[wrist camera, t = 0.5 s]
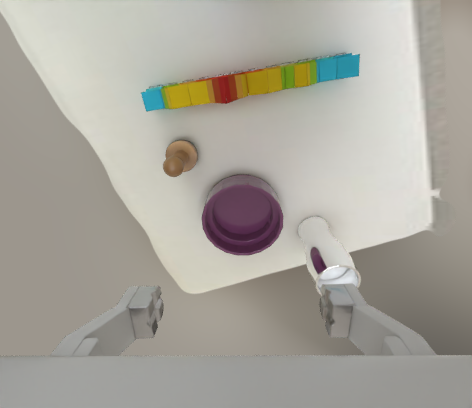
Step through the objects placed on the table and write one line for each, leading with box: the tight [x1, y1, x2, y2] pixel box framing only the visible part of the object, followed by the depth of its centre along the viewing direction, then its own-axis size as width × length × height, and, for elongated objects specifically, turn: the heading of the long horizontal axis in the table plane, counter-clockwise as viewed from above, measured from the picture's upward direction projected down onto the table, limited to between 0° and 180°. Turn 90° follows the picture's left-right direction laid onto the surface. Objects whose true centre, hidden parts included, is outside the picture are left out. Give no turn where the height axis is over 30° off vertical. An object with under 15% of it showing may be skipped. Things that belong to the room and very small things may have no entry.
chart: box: [141, 53, 360, 111], centre depth 33 cm, size 30×3×15 cm, turn 99°
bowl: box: [202, 175, 283, 255], centre depth 47 cm, size 14×14×6 cm
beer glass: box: [298, 216, 361, 295], centre depth 45 cm, size 7×7×15 cm
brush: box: [163, 140, 198, 177], centre depth 41 cm, size 5×5×9 cm
